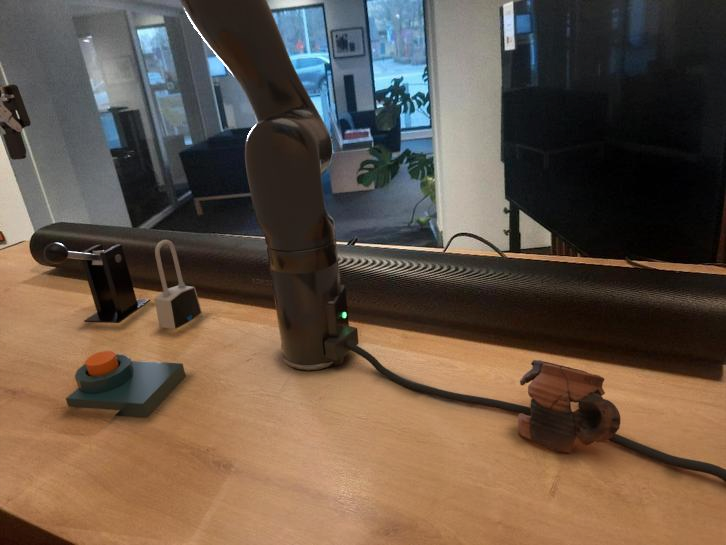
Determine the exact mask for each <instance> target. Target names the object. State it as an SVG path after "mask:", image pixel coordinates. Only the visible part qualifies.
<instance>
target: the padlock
mask: <svg viewBox="0 0 726 545" xmlns="http://www.w3.org/2000/svg"><path fill="white" fill-rule="evenodd" d="M164 245H167V246H168V247H169V249H170V252H171V256H172V260H173V264H174V268H175V272H176V276H177V281H178V283H177V285H175V286H172V287H169V288H168V284H167V280H166V276H165V271H164V267H163V263H162V258H161V248H162V247H163V246H164ZM154 255H155V261H156V265H157V270H158V274H159V278H160V279H159V280H160V282H161V283H160V284H161V287H162V292H161V293H159V294H158V295H157V296H156V297H154V304H155V309H156V315H157V316H156V317H157V320H158V326H159V327H158V328H164V329H169V330H176V329H178V328H179V327H182V326H183V325H185V324H188V323H189V322H191V321H192V320H194V319H195V318H196V317H197V316H199V315H200V314H202V313H203V310H202V307H201V304H200V300H199V296H198V293H197V290H196V287H195V286H190V285H186V284H185V282H184V280H183V276H182V272H181V266H180V262H179V258H178V254H177V251H176V247H175V245H174V243H173V241H171V240H169V239H162V240H160V241H159V242H158V243H157V244H156V246H155V249H154Z"/></svg>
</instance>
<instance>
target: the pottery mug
mask: <svg viewBox="0 0 726 545" xmlns="http://www.w3.org/2000/svg"><path fill="white" fill-rule="evenodd" d="M530 365H531V366H532V368H531V369H530V370H529V371H527V372H525V374H523V376H522V377H521V378H520V380H519V384H520V386H524V385H526V384H528V383H529V384H528V386H527V394H528V396H529V397H530V398H531V399H530V403H529V404H530V406H529V407H531V410H530V412H531V416H528V415H525V414H523V413H520V414H519V413H518V416H517V428H518V429H517V433H518V434H519V435H520V436H521V437H523V438H525V439H528V440H529V441H532V442H534V443H537V444H539V445H540V446H541V447H546V448H548V449H550V450H554V451H558V452H561V453H568V454H570V453H571V452H572V449H573V445H574V444H575V441H576V439H578V441H579V442H580V443H581V444H582V445H584V446H590V445H592V444H593V443H604V442H606V441H608V440H609V439H610V438H612V437H613V436H614V435H615V434H617V432H618V431H619V430H620V427H621V414H620V412H619V409H618V408H617V406H616V405H615V404H614V402H612V401H610V400H608V399H606V398H604V397H603V396H604V395H605V394H606V392H605V389H603V385H604V382H605V378H604V377H603V376H601V375H598V374H594V373H590V372H588V371H586V370H582V369H577V368H573V367H569V366H566V365H562V364H561V365H560V364H557V363H553V362H552V363H551V362H548V361H543V360H541V359H540V360H539V359H538V360H537V359H533V360H531V363H530ZM571 403H574V404H575V403H578V404H577V406H578V409H576V410H574V411H573V410H572V405H571Z"/></svg>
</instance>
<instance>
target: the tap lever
mask: <svg viewBox="0 0 726 545" xmlns="http://www.w3.org/2000/svg"><path fill="white" fill-rule="evenodd" d="M103 251H104V250H103ZM103 251H93V253H92V254H88V253H81V252H78V251H72V250H71V251H70V250H68V248H67V247H66V246H65V245H64V244H62V243H60V242H52V243H49V244H47V245H46V246H45V247H44V249H43V257H44V258H45V260H46V261H47V262H49V263H51V264H56V265H57V264H58V265H59V264H62V263H64V262H66V261H67V259H73V260H74V259H75V260H81V259H83V260H92V265H99V266H103V263H102V259H101V256H100V253H101V252H103Z"/></svg>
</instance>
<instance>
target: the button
mask: <svg viewBox="0 0 726 545" xmlns="http://www.w3.org/2000/svg"><path fill="white" fill-rule="evenodd" d="M116 354H117V353H116V352H115V351H113V350H104V351H100V352H96V353H94V354H92V355H89V357H87V358H86V359H85V361H84V364H86V367H87V371H88V374H89V375H90V376H100V375H105V374H107V373H110V372H112V371H114V370H115V369H117V368H118V366H119V364H118V361H117V357H116Z"/></svg>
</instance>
